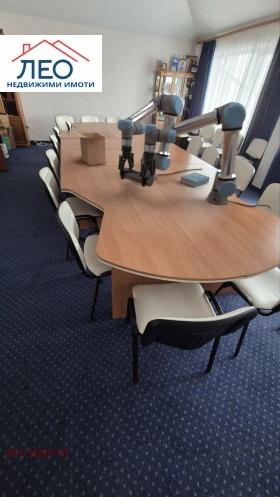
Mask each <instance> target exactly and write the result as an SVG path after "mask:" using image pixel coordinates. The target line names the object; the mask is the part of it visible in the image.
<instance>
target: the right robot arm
mask: <svg viewBox="0 0 280 497" xmlns="http://www.w3.org/2000/svg"><path fill="white" fill-rule="evenodd" d="M246 118H247V110H246V107H245V106H244V105H243V104H242V103H240V102H235V101H229V102H226V103H224V104H223V105H220V106H218V107H215V108H214V109H213V110H212V111H209V112H206V113H204V114H203V113H202V114H200V115H197V116H193V117H192V118H191V117H190V118H188V119H186V120H185V119H184V120H182V121H179V122H175V123H174V125H170V126H166V127H164V128H163V129H162V128H158V125H157V124H154V123H147V124H145V126H146V128H145V133H144V142H143V143H144V144H143V152H144V158H145V159H144V161H143V162H141V161H140V170H139V172H140V177H142V181H141V182H142V184H140V185H141V187H143V188H146V186H145V180H146V178H145V175H146V172H147V169H148V168H149V169H150V174H149V175H152V176H153V175H155V174H156V170H157V169H156V159H154V158H155V152H154V151H156V146H157V143H160V142H163V143H170V144H175V143H176V137H179V136H182V135H185V134H188V133H191V132H195V131H198V130H200V129H205V128H208V127H211V126H214V125H215V126H220V125H221V129H220V130H221V132H222V133H223V137H222V139H223V140H222V151H221V162H220V169H218V170H216V172H215V176H214V180H213V183H212V187H211V190H210V192H208V195H207V196H206V200H207V202H209V203H211V204H212V205H218V206H219V205H220V206H223V205H227V203H228V202H230V203H233V204H237V205H241V206H245V207H249V208H250V207H251V208H252V207H267V208H269V209H270V210H272V208H271V206H269V205H266V204H253V205H248V204H244V203H240V202H237V201H233V200H229V199H228V198H229V197H232V196H233V195H234V194H235V193H236V192H237V190H238V189H237V188H238V186H237V183H236V182H237V174H236V173H235V170H236V162H237V153H238V144H239V137H240V136H239V135H240V132H241V131H242V130H243V125H244V122H245V120H246ZM145 165H146V166H145Z"/></svg>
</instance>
